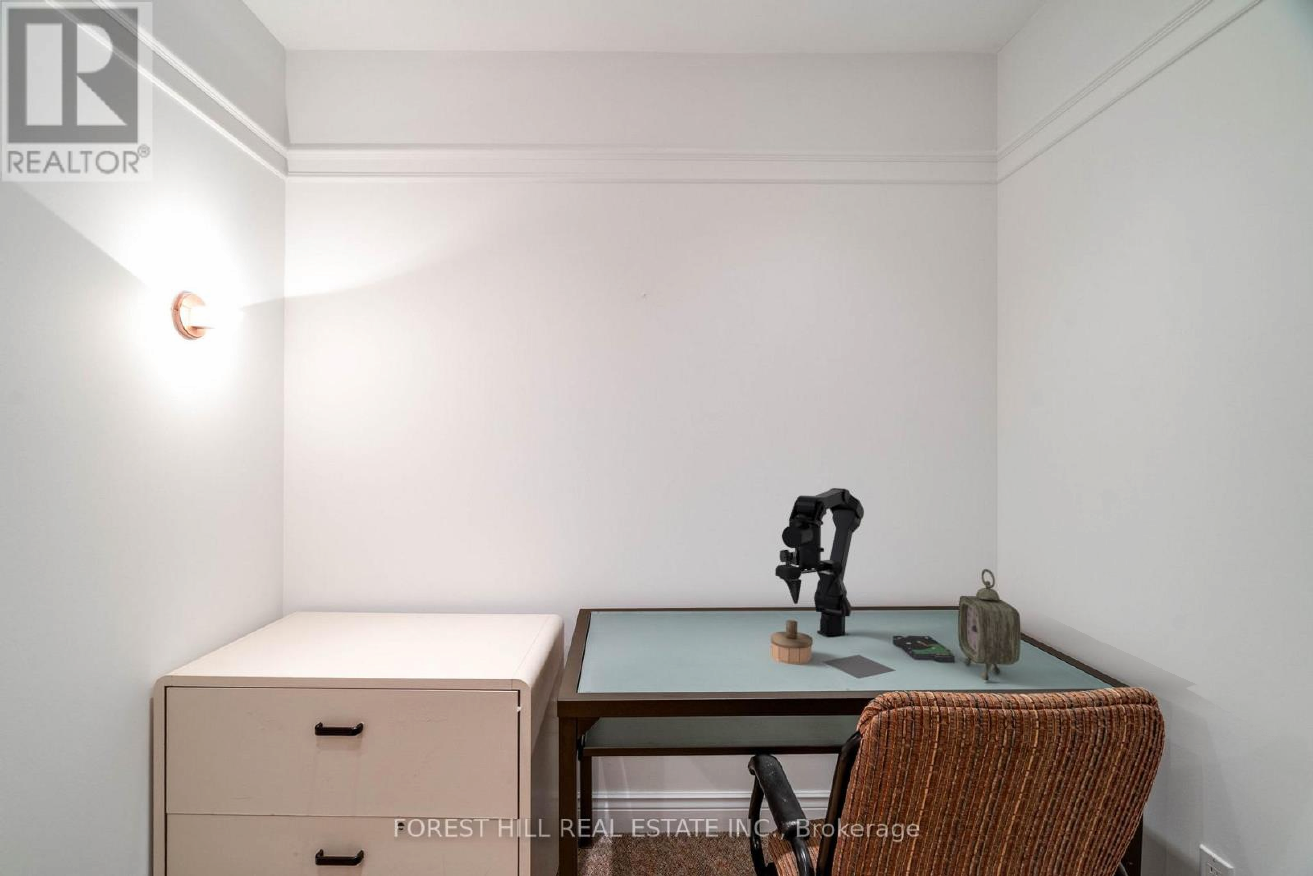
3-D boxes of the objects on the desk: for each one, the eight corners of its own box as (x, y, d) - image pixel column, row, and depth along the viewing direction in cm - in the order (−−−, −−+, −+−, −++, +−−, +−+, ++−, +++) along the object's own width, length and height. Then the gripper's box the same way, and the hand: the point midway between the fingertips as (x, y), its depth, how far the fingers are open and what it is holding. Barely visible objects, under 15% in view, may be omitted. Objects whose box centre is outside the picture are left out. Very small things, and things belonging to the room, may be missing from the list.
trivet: (858, 657, 164) (858, 654, 164) (895, 672, 153) (895, 670, 153) (822, 664, 159) (822, 661, 159) (858, 680, 148) (858, 678, 148)
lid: (794, 633, 169) (794, 614, 169) (821, 644, 159) (821, 624, 159) (762, 638, 164) (762, 619, 164) (788, 650, 155) (788, 630, 155)
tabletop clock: (957, 662, 161) (959, 563, 161) (995, 664, 160) (996, 564, 160) (980, 684, 147) (982, 575, 147) (1022, 686, 146) (1023, 577, 146)
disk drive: (891, 645, 176) (915, 664, 161) (891, 635, 176) (915, 653, 161) (929, 645, 176) (955, 664, 161) (929, 635, 176) (955, 653, 161)
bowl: (793, 650, 168) (793, 633, 168) (819, 662, 160) (819, 644, 160) (763, 656, 164) (763, 638, 164) (787, 668, 155) (788, 650, 155)
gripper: (816, 536, 182) (815, 591, 182) (763, 541, 173) (762, 598, 173) (844, 542, 172) (843, 600, 172) (789, 547, 163) (788, 608, 164)
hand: (809, 601), depth 171 cm, fingers open, 9 cm apart
